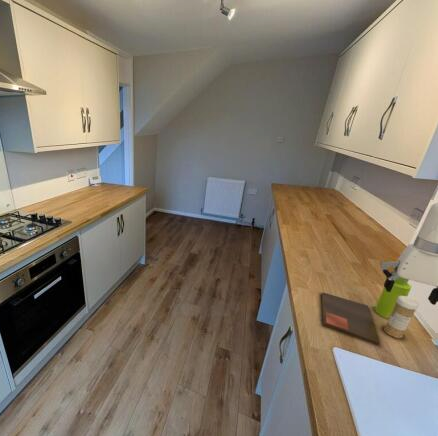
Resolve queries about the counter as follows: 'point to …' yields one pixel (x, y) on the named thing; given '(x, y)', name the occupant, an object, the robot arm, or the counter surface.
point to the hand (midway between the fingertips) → (408, 295)
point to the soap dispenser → (392, 297)
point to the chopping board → (348, 318)
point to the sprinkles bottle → (401, 316)
